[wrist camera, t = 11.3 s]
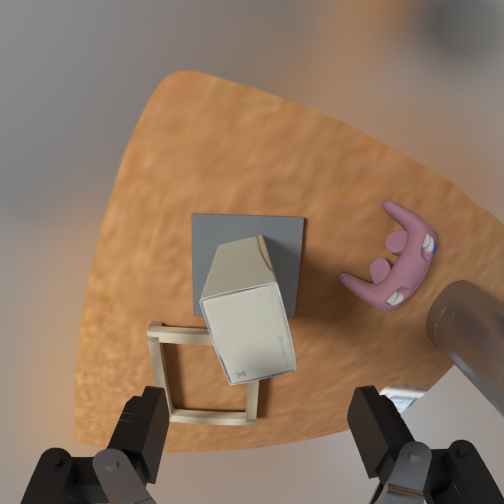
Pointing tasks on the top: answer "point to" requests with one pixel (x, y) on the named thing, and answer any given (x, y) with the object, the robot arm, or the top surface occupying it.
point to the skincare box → (247, 313)
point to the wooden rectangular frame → (155, 340)
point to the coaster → (245, 226)
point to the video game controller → (397, 262)
